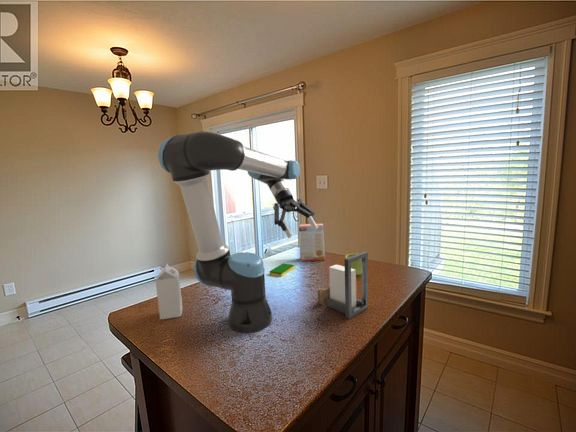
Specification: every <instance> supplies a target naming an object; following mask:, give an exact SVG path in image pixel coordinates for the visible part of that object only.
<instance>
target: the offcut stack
mask: <svg viewBox="0 0 576 432" xmlns="http://www.w3.org/2000/svg"><path fill="white" fill-rule="evenodd" d="M328 298H330V283H329V284H327V285H325V286H322V287H320V288H318V289H317V304H319V305H322V306H325V305H326V306H327V299H328Z"/></svg>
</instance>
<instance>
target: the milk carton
mask: <svg viewBox="0 0 576 432" xmlns="http://www.w3.org/2000/svg"><path fill="white" fill-rule="evenodd" d="M180 281H181V280H180V273H179V271H178V270H177V268H175V267H172V266H169V263H166V265H165V267H164V269H162V271H161V272H160V273H158V275H157V277H156V279H155V281H154V282H155V288H156V295H157V305H158V312H159V320H160V321H161V319H162V320H167V319H172V318H173V319H174V318H179V317H182V312H183V309H184V308H183V299H182V291H181V282H180Z"/></svg>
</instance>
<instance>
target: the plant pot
mask: <svg viewBox="0 0 576 432" xmlns="http://www.w3.org/2000/svg"><path fill="white" fill-rule="evenodd" d="M356 254H357V253H348V254H346V255H345V259H346V258H348V257H351V256H354V255H356ZM351 268H352V269H355V270H356V276H360V275H361V276H362V259H360V260H357V261H355V262H352V263H351Z"/></svg>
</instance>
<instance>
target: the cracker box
mask: <svg viewBox="0 0 576 432" xmlns="http://www.w3.org/2000/svg"><path fill="white" fill-rule="evenodd" d="M316 225H317V226H318V229H317V230H316V231H314V230H313V228H312V227H311V225H310V223H301V224H299V225H298V232H299V235H298V236H299V238H298V239H299V255H300V262H305V261H306V262H309V261H310V262H311V261H315V262H318V261H325V260H326V259H325V235H324V234H325V232H324V224H323V223H316Z"/></svg>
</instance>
